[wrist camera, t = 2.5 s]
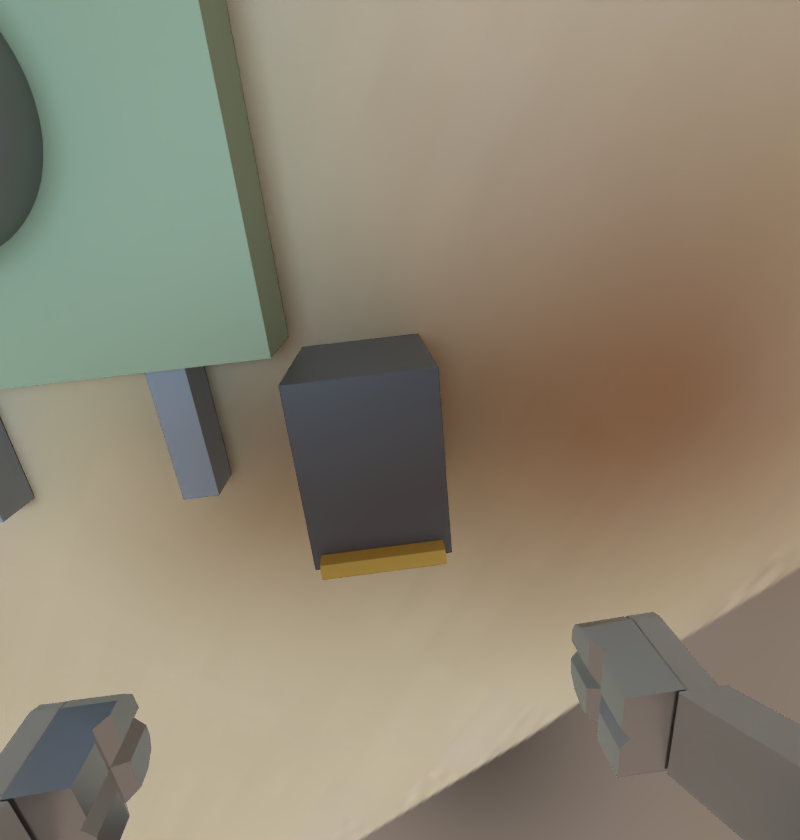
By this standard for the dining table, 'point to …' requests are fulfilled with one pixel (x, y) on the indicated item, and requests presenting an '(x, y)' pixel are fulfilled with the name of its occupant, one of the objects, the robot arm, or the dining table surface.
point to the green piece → (130, 215)
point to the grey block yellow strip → (369, 454)
